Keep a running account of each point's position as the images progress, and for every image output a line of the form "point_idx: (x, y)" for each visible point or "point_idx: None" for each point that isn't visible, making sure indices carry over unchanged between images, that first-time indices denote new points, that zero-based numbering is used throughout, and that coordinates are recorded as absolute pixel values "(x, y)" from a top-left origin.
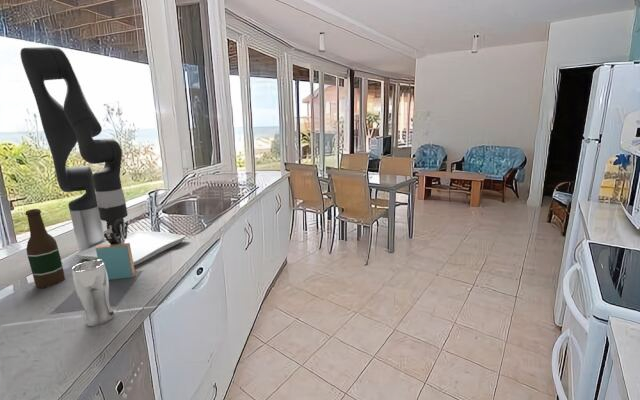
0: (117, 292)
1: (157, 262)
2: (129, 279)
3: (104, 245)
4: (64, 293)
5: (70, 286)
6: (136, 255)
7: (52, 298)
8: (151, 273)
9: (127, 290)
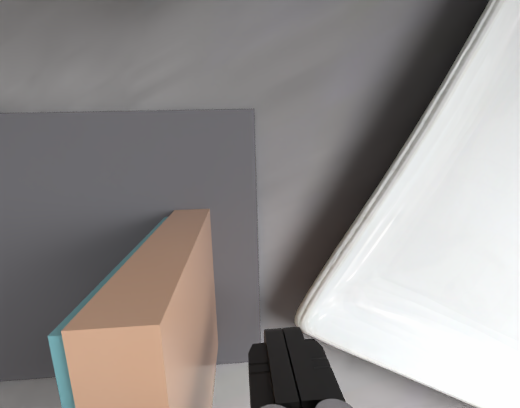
0: (29, 341)
1: (356, 378)
2: None
3: (151, 400)
4: (66, 56)
5: (151, 44)
6: (479, 253)
7: (11, 15)
8: (232, 395)
9: (47, 375)
